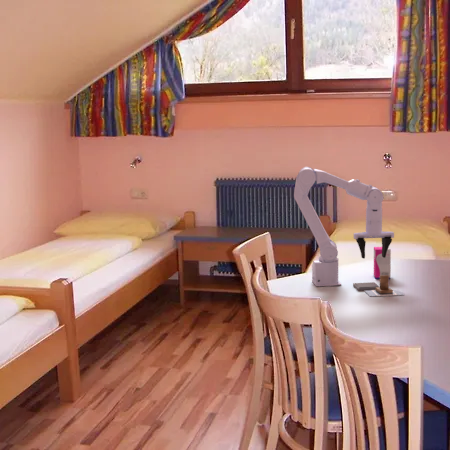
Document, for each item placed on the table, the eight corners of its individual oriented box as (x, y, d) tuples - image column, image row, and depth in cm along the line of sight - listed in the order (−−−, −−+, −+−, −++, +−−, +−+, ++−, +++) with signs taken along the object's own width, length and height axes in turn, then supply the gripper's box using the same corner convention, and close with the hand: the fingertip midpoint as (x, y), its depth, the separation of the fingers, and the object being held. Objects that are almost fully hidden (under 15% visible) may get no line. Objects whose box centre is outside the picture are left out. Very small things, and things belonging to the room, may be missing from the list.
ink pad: (358, 291, 245) (358, 287, 245) (353, 286, 252) (353, 282, 252) (380, 290, 246) (380, 286, 246) (374, 285, 253) (374, 281, 252)
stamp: (380, 294, 239) (380, 277, 238) (375, 291, 243) (375, 274, 242) (392, 293, 240) (393, 277, 238) (387, 290, 244) (388, 274, 243)
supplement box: (388, 275, 266) (389, 246, 265) (390, 279, 261) (391, 249, 259) (373, 275, 267) (373, 246, 265) (374, 279, 261) (375, 249, 259)
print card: (370, 296, 237) (370, 295, 237) (364, 291, 244) (364, 290, 244) (404, 295, 238) (404, 294, 238) (397, 290, 245) (397, 289, 245)
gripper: (357, 223, 246) (356, 260, 248) (397, 221, 247) (396, 259, 249) (352, 220, 253) (351, 256, 255) (390, 218, 254) (390, 254, 256)
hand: (373, 257), depth 253 cm, fingers open, 7 cm apart
